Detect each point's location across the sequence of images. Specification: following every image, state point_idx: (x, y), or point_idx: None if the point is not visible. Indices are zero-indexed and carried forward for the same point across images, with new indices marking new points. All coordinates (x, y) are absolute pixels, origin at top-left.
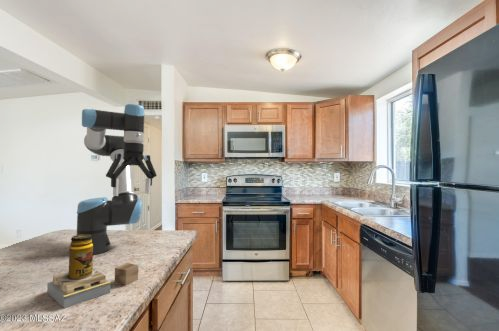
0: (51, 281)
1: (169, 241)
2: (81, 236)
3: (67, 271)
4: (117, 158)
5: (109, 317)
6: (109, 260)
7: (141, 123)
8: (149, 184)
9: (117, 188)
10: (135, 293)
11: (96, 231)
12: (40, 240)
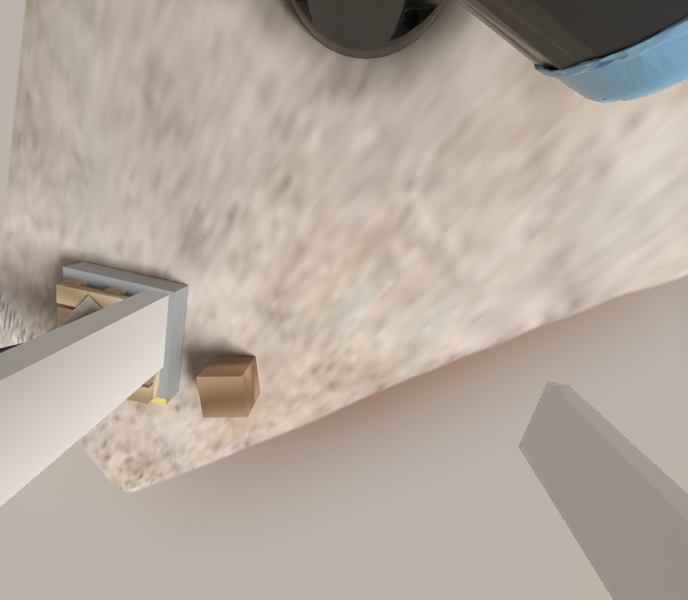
0: (71, 269)
1: (652, 197)
2: None
3: (89, 296)
4: None
5: (125, 465)
6: (319, 181)
7: None
8: (598, 558)
9: (92, 413)
10: (208, 439)
11: None
12: None
